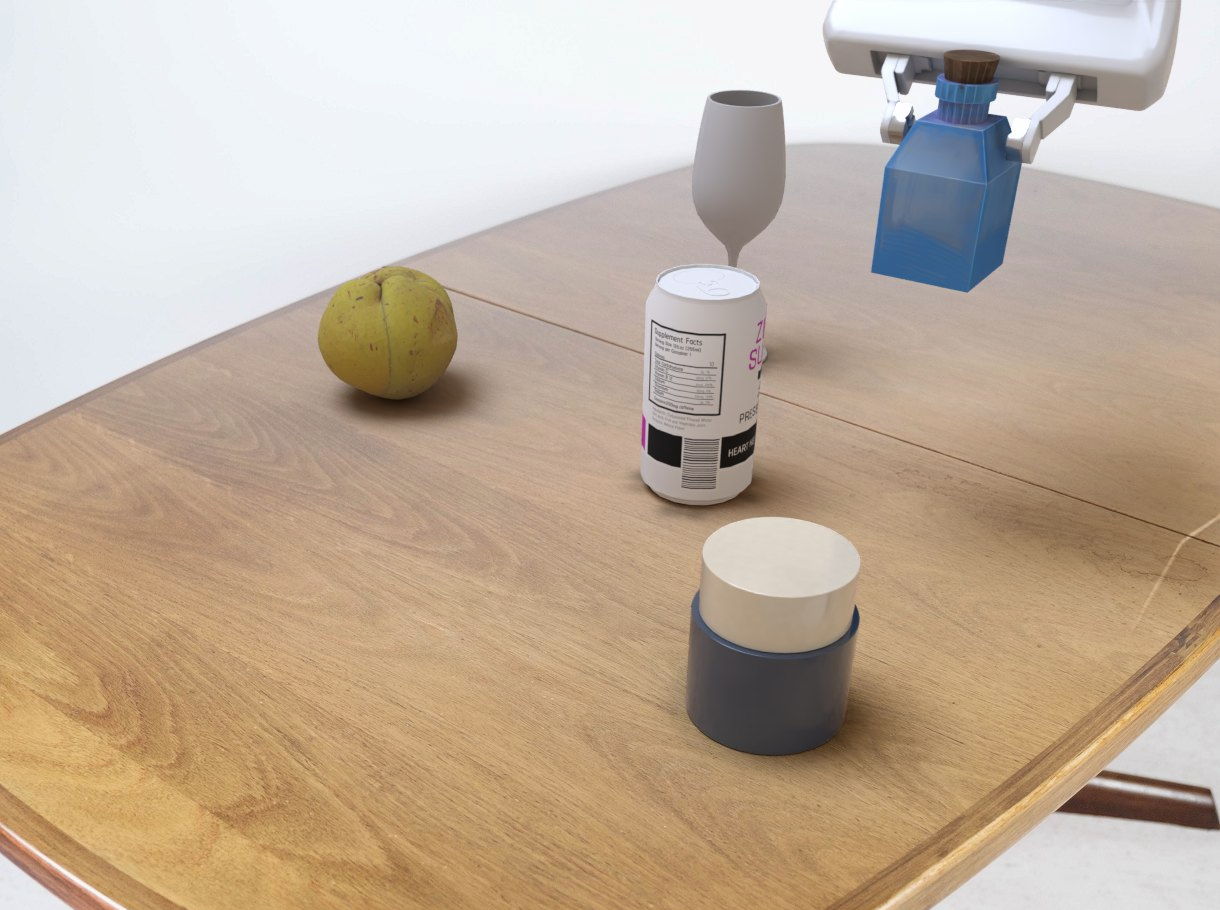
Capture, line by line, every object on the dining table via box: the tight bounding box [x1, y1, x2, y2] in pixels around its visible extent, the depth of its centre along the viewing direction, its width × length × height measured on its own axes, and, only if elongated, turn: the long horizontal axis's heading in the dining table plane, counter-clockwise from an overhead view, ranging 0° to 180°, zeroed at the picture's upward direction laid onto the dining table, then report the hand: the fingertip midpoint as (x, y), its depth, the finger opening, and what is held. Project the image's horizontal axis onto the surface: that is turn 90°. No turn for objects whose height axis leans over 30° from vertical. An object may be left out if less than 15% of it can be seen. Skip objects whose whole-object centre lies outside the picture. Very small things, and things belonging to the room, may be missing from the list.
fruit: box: [317, 266, 459, 400], centre depth 107 cm, size 11×12×10 cm
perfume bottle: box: [870, 50, 1023, 294], centre depth 79 cm, size 6×6×12 cm
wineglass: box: [691, 89, 787, 363], centre depth 112 cm, size 8×8×21 cm
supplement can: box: [640, 263, 768, 506], centre depth 94 cm, size 8×8×15 cm
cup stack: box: [684, 516, 862, 756], centre depth 74 cm, size 9×9×10 cm
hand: (954, 148), depth 78 cm, fingers closed on perfume bottle, 6 cm apart
